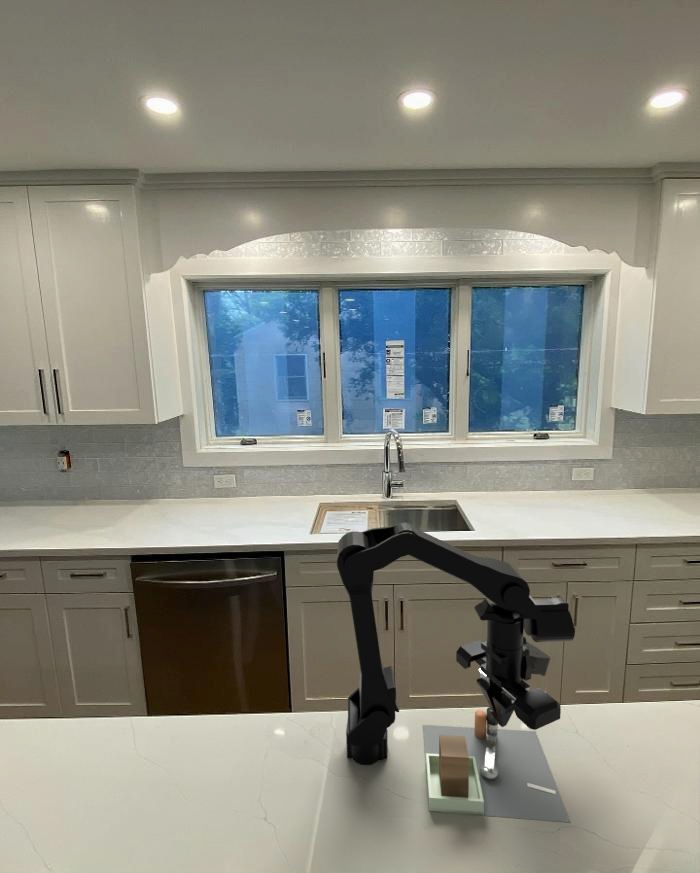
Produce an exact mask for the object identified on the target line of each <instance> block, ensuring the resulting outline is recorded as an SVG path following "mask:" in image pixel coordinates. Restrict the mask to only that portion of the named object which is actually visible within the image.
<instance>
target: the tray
mask: <svg viewBox="0 0 700 873" xmlns="http://www.w3.org/2000/svg"><path fill="white" fill-rule="evenodd" d="M426 771H427V780H426V785H427V784H428V794H427V799H428V798H429V808H428V812H429V811H440V812H439V813H441V812H453V813H452V814H454V813H466V814H479V815H484V800H483V795H482V790H481V785H480V780H479V775H478V770H477V765H476V760H475V756H469V793H468V798H462V797H448V796H441V788H440V779H439V754H429V753H426V766H425V772H426ZM466 814H465V815H466ZM479 815H478V816H479Z"/></svg>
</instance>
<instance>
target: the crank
mask: <svg viewBox="0 0 700 873" xmlns="http://www.w3.org/2000/svg"><path fill="white" fill-rule="evenodd" d="M486 715H487V719H486V728H487V734H488V736H487V746H486V757H485V762H483V763H482V764H481V765H480V774H481V775H482V776H483V777H484V778H485V779H487V780H495V779H497V777H498V769H497V767H496V766H495V765H494V760H495V746H496V737H497V734H498V729H499V728H498V727H499V726H498V725H499V724H498V722H497V720H496V718H495V716H494V714H493V712H492V709H491V707H490V706H488V707H487V708H486Z"/></svg>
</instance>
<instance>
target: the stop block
mask: <svg viewBox="0 0 700 873" xmlns="http://www.w3.org/2000/svg"><path fill="white" fill-rule="evenodd" d="M439 779H440V788H441V796H448V797H462V798H468V793H469V755H468V750H467V744H466V739H465V736H452V735H439Z"/></svg>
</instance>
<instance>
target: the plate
mask: <svg viewBox="0 0 700 873" xmlns="http://www.w3.org/2000/svg"><path fill="white" fill-rule="evenodd" d="M486 719H487V712H485V711H484V710H482V709H478V710H476V711H474V727H469V726H468V727H466V726H464V727H463V726H450V725H449V726H448V725H435V724H434V725H432V724H431V725H430V724H422V735H423V736H422V737H423V749H424V762H425V763H424V765H425V767H426V753H429V754H439V735H452V736H465V739H466V744H467V750H468V755H469V756H475V760H476V765H477V770H478V775H479V780H480V785H481V790H482V795H483V800H484V815H479V814H466V813H453V812H440V811H429V810H428V812H429V813H443V814H455V815H465V816H466V815H468V816H469V815H471V816H479V817H480V816H481V817H482V816H483V817H494V818H495V817H497V818H505V819H506V818H508V819H518V820H522V819H523V820H534V821H545V822H547V821H548V822H558V823H569V824H570V823H571V820H570V817H569V814H568V813H567V809H566V807H565V804H564V802H563V800H562V795H560V792H559V789H558V786H557V784H556V781H555V778H554V774H553V773H552V771H551V768H550V766H549V763H548V759H547V757H546V755H545V753H544V750H543V747H542V745H541V742H540V739H539V737H538V735H537V730H519V729H505V728H504V729H501V728H500V729H499V728H498V734H497V737H496V746H495V760H494V765H495V766H496V767H497V769H498V777H497V779H495V780H487V779H485V778H484V777H483V776H482V775H481V774H480V765H481V764H482V763H483V762H485V757H486V746H487V736H488V734H487V720H486ZM425 777H426V781H427V771H426V770H425ZM426 791H427V794H426V795H428V784H427V783H426ZM427 803H428V804H427V806H428V809H429V798H428V797H427Z"/></svg>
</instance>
